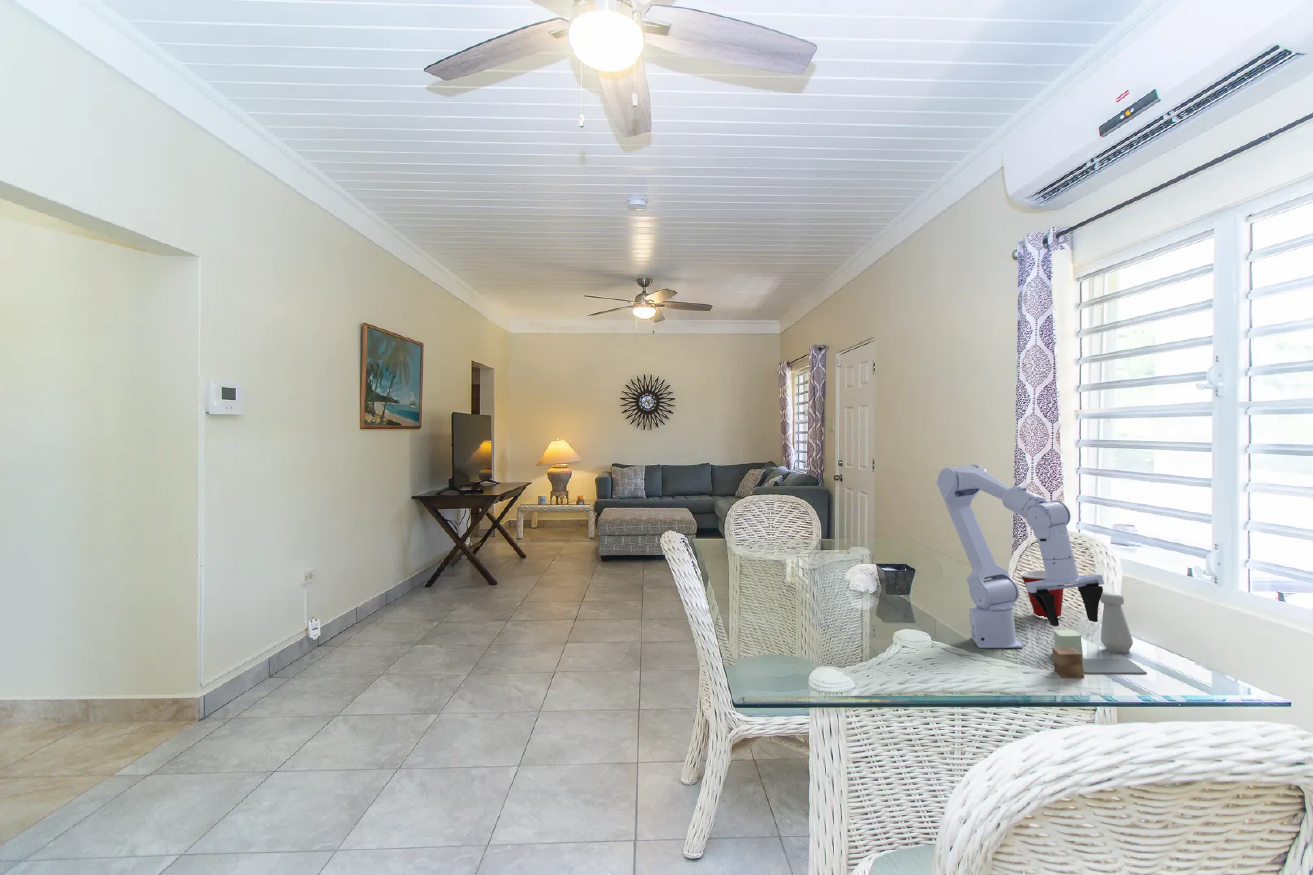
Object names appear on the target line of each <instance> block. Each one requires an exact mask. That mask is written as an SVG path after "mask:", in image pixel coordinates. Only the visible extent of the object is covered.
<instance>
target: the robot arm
mask: <svg viewBox="0 0 1313 875" xmlns="http://www.w3.org/2000/svg"><path fill="white" fill-rule="evenodd" d="M936 485H937V486H938V489H939V491H940V493H941V496H942V498H943V501H944V504H945V507H946V509H947V511H948V513H949V516H950V518H951V521H952V524H953V526H954V529H955V530H956V534H957V536H958V537H959V540H960V543H961V545H962V547H963V549H964V552H965V555H966V556H967V560H968V562H969V564H970V566H971V569H972V570H971V572H970V574H969V575H968V576H967V578H966V582H967V584H968V588H969V595H970V596H969V597H970V598H971V600H972V602H973V604H975V605H976V606H970V607H969V608H968V617H969V624H970V634H971V636H970V638H971V639H972V641H973V642H974V643H975V644H976V646H977V647H978V648H979V649H1012V648H1013V649H1018V648H1019V649H1020V648H1021V649H1022V648H1024V646H1023V644H1022V643H1020V642H1019V640H1018V639H1017V635H1016V626H1015V625H1016V624H1015V616H1014V607H1015V606H1016V603H1015V602H1017V601H1018V600H1019V597H1020V589H1019V586H1018V584H1017V582H1016V581H1015V580H1014V579H1013V578H1012V577H1011V575H1010V572H1009V571H1008V570H1007V569H1006V568H1004V567H1002V566H1000V565H999V564H997V563H996V561H995V559H994V556H993V554H992V551H991V550H990V546H989V545H988V543H987V540H986V538H985V536H984V534H983V531H982V529H981V527H980V524H979V522H978V520H977V517H976V516H975V515H976V514H975V512H974V511H973V508H972V506H971V504H972V501H973V500H974V499H975V498H976V497H977V496H978V495H979V493H980V492H981V491H982V492H984V493H987V494H989V495H991V496H993V497H995V498H997V499H999V500H1001V502H1002V505H1003V507H1004V508H1006V509H1007V510H1009V511H1011V512H1013V513H1015V514H1017V515H1018V516H1021V517H1022V519H1023V518H1024V519H1025V521H1026V524H1027V526H1029V527H1030V528H1031V530H1032V532H1033V535H1034V537H1035V539H1037V542H1038V546H1039V550H1040V554H1041V559H1042V562H1043V566H1044V567H1043V568H1044V571H1045V572H1046V576H1047V579H1046V580H1040V581H1035V582H1029V583H1025V584H1026V586H1025V589H1026V588H1027V589H1026V591H1027V592H1026V593H1028V592H1031V595H1032V596H1033V597H1034V599H1035V600H1036V601H1037V602H1038V603H1039V605H1040V606H1041V608H1042V609H1043V611H1044V612H1045V614H1046V616H1047V618H1048V623H1049V624H1050V626H1053V627H1060V622H1059V619H1058V618H1057V614H1056V610H1055V595H1054V594H1051V593H1050V592H1048V590H1055V589H1063V590H1064V589H1071V588H1077V590H1078V593H1079V594H1080V597H1081V599H1082V601H1083V605H1084V609H1085V613H1086V616H1087V619H1088V621H1089V622H1093V623H1098V622H1099V621H1098V620H1099V607H1100V602H1101V600H1100V598H1101V595H1102V593H1103V592H1104V588H1103V586H1102V585H1105V582H1104V577H1103V574H1095V573H1094V574H1086V575H1079V572H1078V569H1077V568H1078V567H1077V565H1076V564H1077V563H1076V560H1075V557H1074V552H1073V547H1072V544H1071V539H1070V536H1069V531H1068V527H1067V525H1069V523H1070V521H1071V518H1072V517H1071V512H1070V511H1071V510H1070V509H1069V508H1068V506H1067V505H1066V504H1065V503H1064V502H1062V501H1061V500H1058V499H1054V500H1047V499H1045V497H1044V496H1042V495H1037V494H1035V493H1033V492H1031V491H1029V490H1028V488H1027V487H1026V486H1024V485H1018V486H1017V485H1016V486H1012V487H1011V486H1009V485H1007V484H1006V483H1005V482H1003V481H1001V480H999V479H998V478H996V477H995V476H993V475H991V474H989V473H988V471H987V469H986V468H984V467H981V466H980V465H978V464H970V465H963V466H955V467H944V468H942V469H941V470H940V471H939V473H938V476H937V480H936ZM1025 584H1024V585H1025ZM1057 585H1064V586H1057Z"/></svg>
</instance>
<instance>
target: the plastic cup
mask: <svg viewBox="0 0 1313 875" xmlns="http://www.w3.org/2000/svg"><path fill="white" fill-rule="evenodd" d="M1019 576H1020V577H1021V578H1022V581H1023V583H1024V585H1025V589H1026V590H1027V588H1026V584H1025V583H1029V582H1035V581H1040V580H1046V579H1047V576H1046V572H1045V570H1030V571H1029V570H1028V571H1023V572H1020V573H1019ZM1057 586H1064V585H1057ZM1048 592H1050V593H1051V594H1054V595H1055V610H1056V614H1057V617H1058V616H1061V615H1062V609H1063V608H1062V607H1063V600H1064V599H1063V598H1064V588H1063V589H1055V590H1048ZM1027 596H1028V598H1029V601H1030V604H1031V606H1032V607H1031V608H1032V611H1033V613H1035V614H1036V615H1038V616H1044V617H1047V616H1046V614H1045V612H1044V611H1043V609H1042V608H1041V606H1040V605H1039V603H1038V602H1037V601H1036V600H1035V599H1034V597H1033V596H1032V595H1031V592H1027ZM1035 614H1034V615H1035Z"/></svg>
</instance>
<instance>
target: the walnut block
mask: <svg viewBox="0 0 1313 875" xmlns="http://www.w3.org/2000/svg"><path fill="white" fill-rule="evenodd" d="M1051 650H1052V651H1051V652H1052V658H1053V668H1054V670H1053V671H1055V673H1057V675H1059V677H1061V679H1085V673H1084V672H1083V663H1082V659H1083V658H1082V654H1081V653H1080V652H1078V651H1077V650H1076V649H1075V648H1074V647H1055V646H1054V647H1053V646H1052V647H1051Z"/></svg>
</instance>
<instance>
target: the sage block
mask: <svg viewBox="0 0 1313 875" xmlns="http://www.w3.org/2000/svg"><path fill="white" fill-rule="evenodd" d="M1053 639H1054V642H1053V643H1054V647H1074V648H1075V649H1076V650H1077V651H1078V652H1080V653H1081V654H1082V659H1084V655H1083V654H1084V653H1083V645H1082V635H1080V634H1079V633H1078V632H1076V631H1075V630H1074V629H1058V630H1056V629H1054V630H1053Z"/></svg>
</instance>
